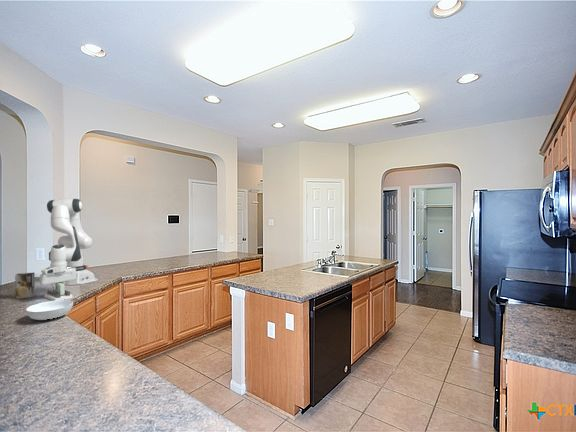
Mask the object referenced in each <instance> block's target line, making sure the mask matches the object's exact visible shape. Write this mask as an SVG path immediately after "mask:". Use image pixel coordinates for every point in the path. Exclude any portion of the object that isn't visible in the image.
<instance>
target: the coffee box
mask: <svg viewBox="0 0 576 432" xmlns="http://www.w3.org/2000/svg"><path fill="white" fill-rule="evenodd" d="M14 278H15V279H14V282H15V284H14V285H15V287H14V288H15V300H18V299H28V298H34V297H35V295H36V293H35V291H36V287H35V285H36V284H35V272H23V273H21V272H19V273H17V274H15V275H14Z"/></svg>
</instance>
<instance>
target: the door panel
mask: <svg viewBox="0 0 576 432" xmlns="http://www.w3.org/2000/svg"><path fill="white" fill-rule="evenodd" d="M65 285H66V284H63V283H62V282H58V283H55V286H56V287H57V289H55V290H54V289H53V288H52V291H55V292H57V293H60V294H61V295H64V294H65V290H66V289H65V288H66V287H65Z"/></svg>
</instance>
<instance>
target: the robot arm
mask: <svg viewBox="0 0 576 432" xmlns="http://www.w3.org/2000/svg"><path fill="white" fill-rule="evenodd" d="M46 209H47V212H48V213H50V227H51V228H52V229H53V230H54V231H55V232H58V233H61V234H65V235H62V236H60V237H59V238H58V240H57V244H54V245H52V246H51V249H50V251H49V252H48V260H49V261H50V266H48V267H45V268H42V269H41V274H40V275H39V285H41V286H45V285H46V286H47V285H51V286H52V290H53V289H54V290H55V289H57V287H56V286H55V283H58V282H60V283H63V284H65V285H66V286H67V285H68V286H74V285H75V286H77V285H78V286H79V285H80V286H81V285H85V284H89V283H93V282H96V281H97V282H98V278H97V277H95V274H94V272H92V271H90V270H88V269H89V267H90V266H89V265H87V264H84V263H85V262H84V261H85V257H84V255H83V252H82V250H84V249H89V248H91V247H92V245H93V241H94V240H93V239H92V238H91V236H89V235H88V234H87V233H86V232H85V231H84V229H83V226H82V222H81V216H80V212H81V211H82V210H83V202H82V201H81V199H79V198H59V199H52V200H51V199H50V200H49V201H48V202H47V204H46Z"/></svg>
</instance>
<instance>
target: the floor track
mask: <svg viewBox="0 0 576 432" xmlns="http://www.w3.org/2000/svg"><path fill="white" fill-rule="evenodd" d="M44 298H45V299H48V300H49V301H55V300H64V299H65V300H70V299H73V294H71V291H69V290H67V289H65V294H64V295H61V294H60V293H57V292H55V291H53V289H47V290H46V293H45V294H44ZM69 298H70V299H69Z"/></svg>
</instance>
